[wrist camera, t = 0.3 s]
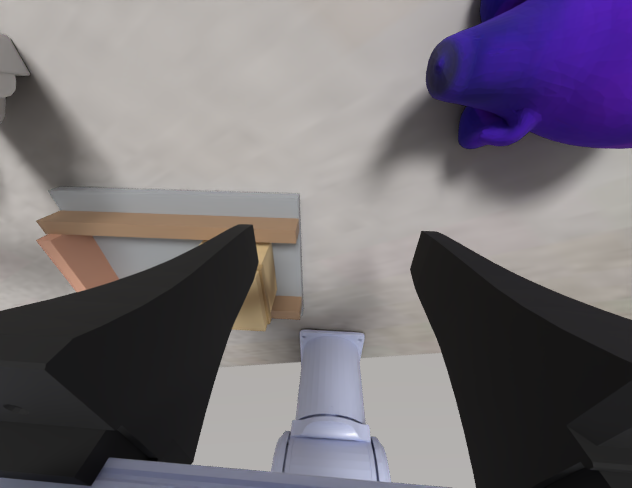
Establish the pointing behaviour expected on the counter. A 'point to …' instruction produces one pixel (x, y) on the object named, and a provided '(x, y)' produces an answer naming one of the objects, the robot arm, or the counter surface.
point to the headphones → (9, 71)
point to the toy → (540, 73)
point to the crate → (259, 293)
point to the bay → (167, 233)
